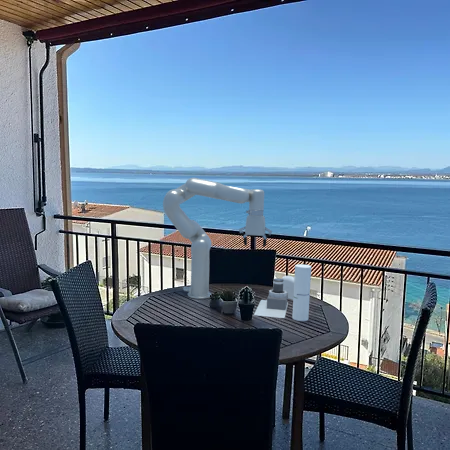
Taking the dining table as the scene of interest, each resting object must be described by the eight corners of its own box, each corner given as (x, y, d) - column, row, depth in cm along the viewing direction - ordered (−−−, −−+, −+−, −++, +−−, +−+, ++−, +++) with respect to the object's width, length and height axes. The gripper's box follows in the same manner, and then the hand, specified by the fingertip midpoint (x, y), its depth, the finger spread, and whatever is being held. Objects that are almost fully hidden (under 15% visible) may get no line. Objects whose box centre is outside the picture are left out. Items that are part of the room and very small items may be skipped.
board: (253, 316, 194) (253, 315, 194) (261, 301, 220) (261, 299, 220) (284, 319, 191) (284, 318, 191) (288, 303, 217) (288, 302, 217)
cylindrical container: (304, 323, 187) (307, 268, 184) (289, 320, 191) (292, 266, 188) (310, 319, 193) (313, 265, 190) (295, 316, 197) (298, 263, 194)
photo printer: (279, 297, 228) (280, 274, 227) (285, 296, 231) (286, 274, 229) (294, 302, 220) (295, 278, 219) (299, 300, 223) (300, 277, 221)
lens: (272, 296, 208) (272, 280, 207) (273, 293, 213) (273, 277, 212) (282, 297, 207) (283, 280, 206) (283, 294, 212) (284, 278, 211)
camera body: (266, 308, 205) (267, 294, 204) (269, 300, 219) (270, 287, 218) (285, 310, 203) (286, 296, 202) (287, 302, 217) (288, 288, 216)
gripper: (238, 212, 217) (237, 245, 219) (272, 214, 213) (270, 248, 215) (240, 211, 224) (239, 243, 226) (273, 213, 220) (272, 245, 222)
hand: (254, 245), depth 220 cm, fingers open, 9 cm apart
